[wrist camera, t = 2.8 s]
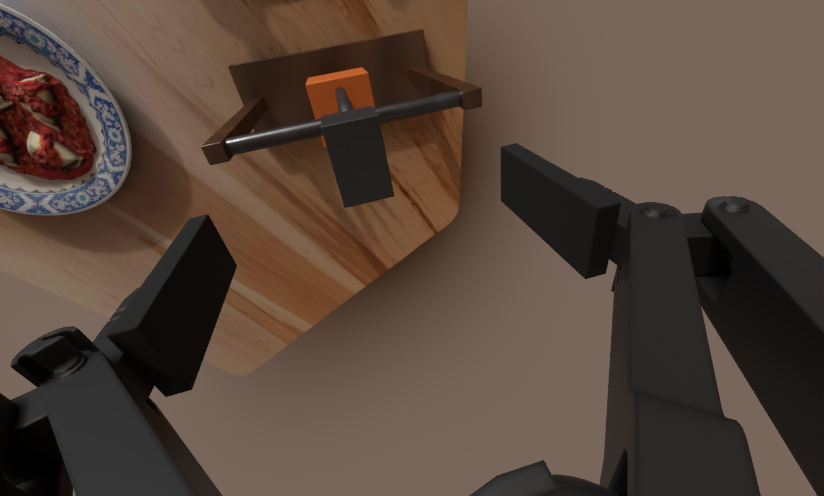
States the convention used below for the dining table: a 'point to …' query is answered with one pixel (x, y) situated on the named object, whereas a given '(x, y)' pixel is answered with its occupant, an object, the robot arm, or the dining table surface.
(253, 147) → the rack
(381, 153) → the orange block with hook
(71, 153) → the ceramic plate
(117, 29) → the dining table surface
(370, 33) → the dining table surface
